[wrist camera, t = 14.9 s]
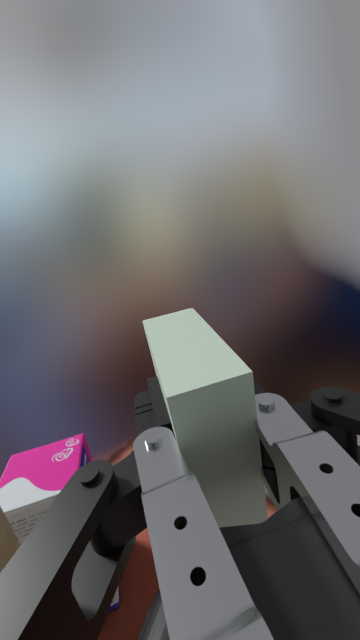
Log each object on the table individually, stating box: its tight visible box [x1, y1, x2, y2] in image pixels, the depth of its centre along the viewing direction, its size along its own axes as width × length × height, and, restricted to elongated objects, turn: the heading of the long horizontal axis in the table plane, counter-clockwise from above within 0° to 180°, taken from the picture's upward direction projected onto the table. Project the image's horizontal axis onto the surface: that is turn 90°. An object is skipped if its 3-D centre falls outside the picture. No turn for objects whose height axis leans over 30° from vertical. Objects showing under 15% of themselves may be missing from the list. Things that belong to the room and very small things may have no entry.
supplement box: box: [0, 434, 120, 612], centre depth 21 cm, size 6×6×12 cm
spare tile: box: [143, 308, 268, 528], centre depth 13 cm, size 2×6×15 cm, turn 12°
